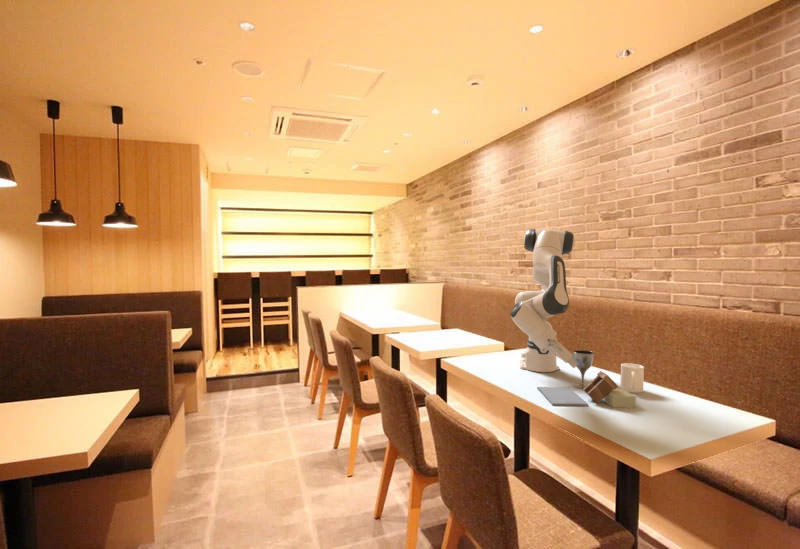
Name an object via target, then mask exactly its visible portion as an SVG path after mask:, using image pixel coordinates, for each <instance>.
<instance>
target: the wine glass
mask: <svg viewBox="0 0 800 549" xmlns="http://www.w3.org/2000/svg"><path fill="white" fill-rule="evenodd" d="M572 355H573V358H572V359H573V361H574V362H575V363H576V364H577V366H576V367H575V368H577V369H578V371H579V372H580V375H581V377H580V378H581V383H576V384H573V387H574V388H576V389H580V390H583V389H584V388H585V387H586V386H587V385H588V384H585V383H584V379H585V374H586V372H588V370H589V369H590V368H591V367H592V366H593V362H594V352H593V351H592V350H587V349H586V350H585V349H574V350H573V351H572Z"/></svg>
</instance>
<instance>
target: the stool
mask: <svg viewBox="0 0 800 549" xmlns="http://www.w3.org/2000/svg"><path fill="white" fill-rule="evenodd" d="M596 375H597V376H595V378H593V379H592V380H591V381H590V382H589V383H588V384H586V385H587V386H586V387H585V388H584V389H582V390H583V391H584V392H585V393H586V394H587V395H588V396H589V397H590V398H591V399H592V400H594V402H595V403H597V404H599V403H600V402H601V401H603V398H604V397H606V396H607V395H608V394H609V393H610V392H611V391H612V390H613V389H614V390H615V389H616V388H617V387H619V385H618V384H617V383H616V382H615V381H614V380H613V379H612V378H611V377H610V376H609V375H608V374H607V373H606V372H604V371H601V370H600V371H599V372H598V373H596Z"/></svg>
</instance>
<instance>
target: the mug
mask: <svg viewBox="0 0 800 549" xmlns="http://www.w3.org/2000/svg"><path fill="white" fill-rule="evenodd" d="M644 372H645V366H643V365H641V364H637V363H629V362H625V363H620V386H619V387H621V388H623V389H624V390H626V391H628V392H629V393H631V394H633V393H634V394H641V393H643V391H644V383H645V382H644V380H645V379H644V376H645V374H644Z"/></svg>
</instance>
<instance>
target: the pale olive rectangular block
mask: <svg viewBox="0 0 800 549" xmlns="http://www.w3.org/2000/svg"><path fill="white" fill-rule="evenodd" d="M636 398H637V396H635V395H634V394H633V393H631V392H628V391H626V390H624V389H623V388H621V386H618V387H617V388H616V389H615V390H614V389H613V390H612V391H611V392H610V393H609V394H608V395H607V396H606V397H604V398H603V399H602V401H604V402H606V403H607V404H608V405H610V406H611V407H614V408H636Z"/></svg>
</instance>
